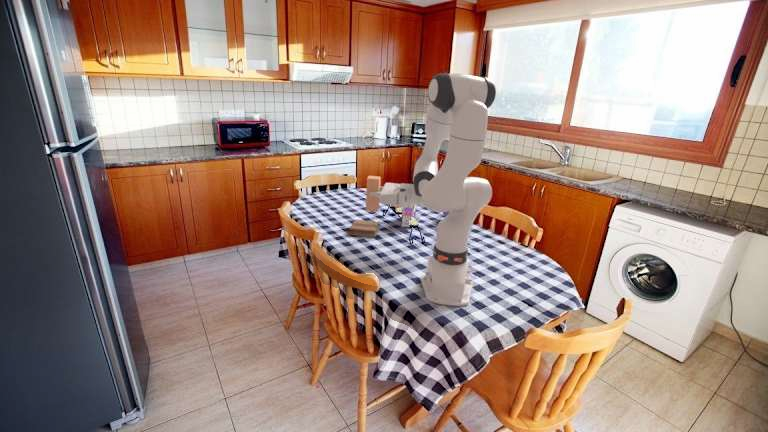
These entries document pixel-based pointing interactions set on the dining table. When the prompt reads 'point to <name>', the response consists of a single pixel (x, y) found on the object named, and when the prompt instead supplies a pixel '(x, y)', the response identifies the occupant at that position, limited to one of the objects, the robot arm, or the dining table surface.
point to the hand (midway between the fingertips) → (371, 191)
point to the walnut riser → (364, 228)
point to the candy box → (408, 214)
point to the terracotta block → (372, 185)
